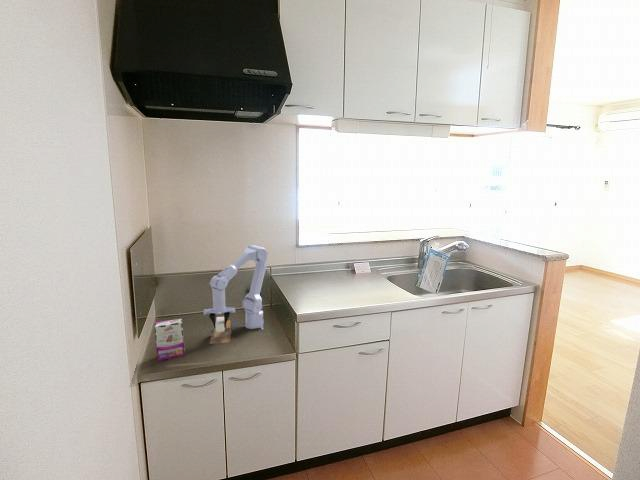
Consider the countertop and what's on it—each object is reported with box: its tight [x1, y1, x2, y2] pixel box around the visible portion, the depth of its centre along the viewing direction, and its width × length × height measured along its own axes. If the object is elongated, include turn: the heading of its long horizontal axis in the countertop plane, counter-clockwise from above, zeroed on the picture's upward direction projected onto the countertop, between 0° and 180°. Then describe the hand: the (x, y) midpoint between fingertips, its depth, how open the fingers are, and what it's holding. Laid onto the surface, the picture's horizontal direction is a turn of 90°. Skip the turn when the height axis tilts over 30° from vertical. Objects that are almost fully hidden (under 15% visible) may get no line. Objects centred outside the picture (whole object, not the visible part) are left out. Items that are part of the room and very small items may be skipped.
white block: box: [215, 316, 226, 332], centre depth 163 cm, size 4×8×4 cm, turn 12°
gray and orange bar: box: [225, 320, 246, 329], centre depth 167 cm, size 10×2×3 cm, turn 102°
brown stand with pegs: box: [209, 327, 232, 345], centre depth 164 cm, size 10×11×5 cm
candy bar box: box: [154, 317, 186, 362], centre depth 147 cm, size 11×5×16 cm, turn 114°
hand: (220, 326), depth 162 cm, fingers closed on white block, 4 cm apart
